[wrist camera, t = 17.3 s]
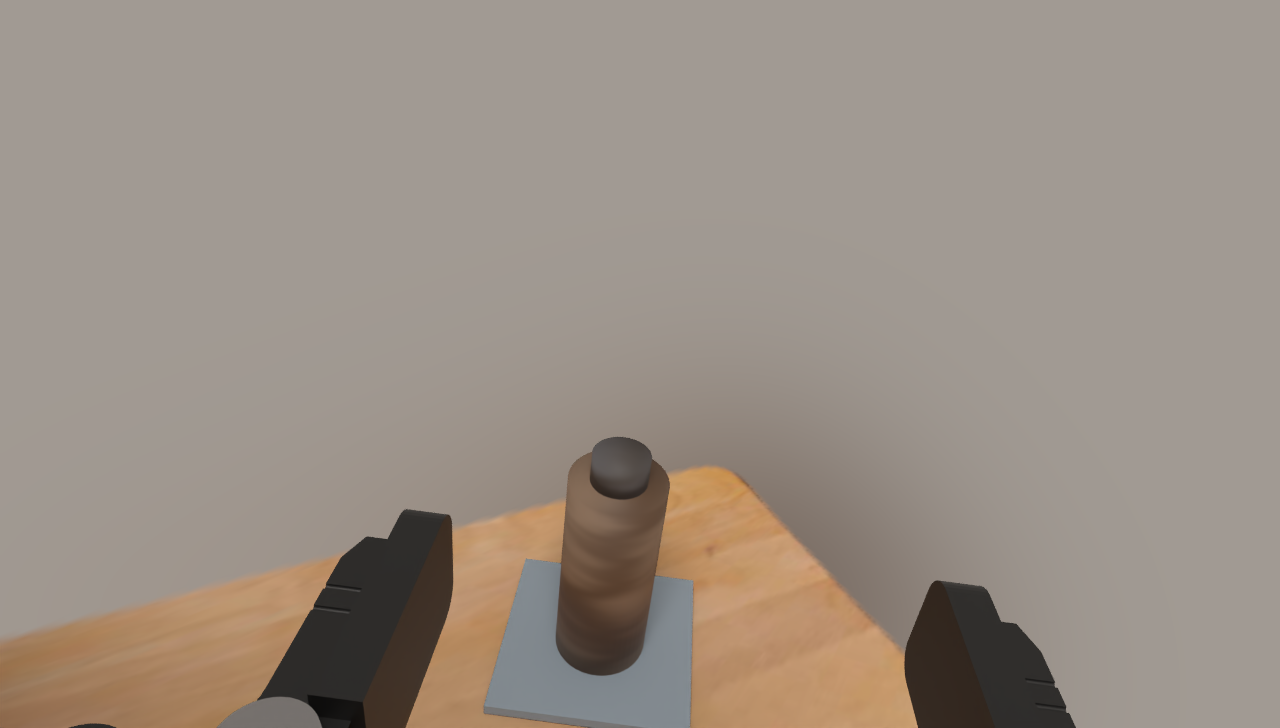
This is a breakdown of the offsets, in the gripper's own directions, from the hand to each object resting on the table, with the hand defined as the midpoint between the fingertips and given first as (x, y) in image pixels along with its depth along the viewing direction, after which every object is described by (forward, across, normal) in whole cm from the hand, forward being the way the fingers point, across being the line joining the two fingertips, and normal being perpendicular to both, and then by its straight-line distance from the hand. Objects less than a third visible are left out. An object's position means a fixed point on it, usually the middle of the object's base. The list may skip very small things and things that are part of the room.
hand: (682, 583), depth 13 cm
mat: (+22, +2, +28) cm, 36 cm away
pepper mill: (+22, +2, +27) cm, 35 cm away
